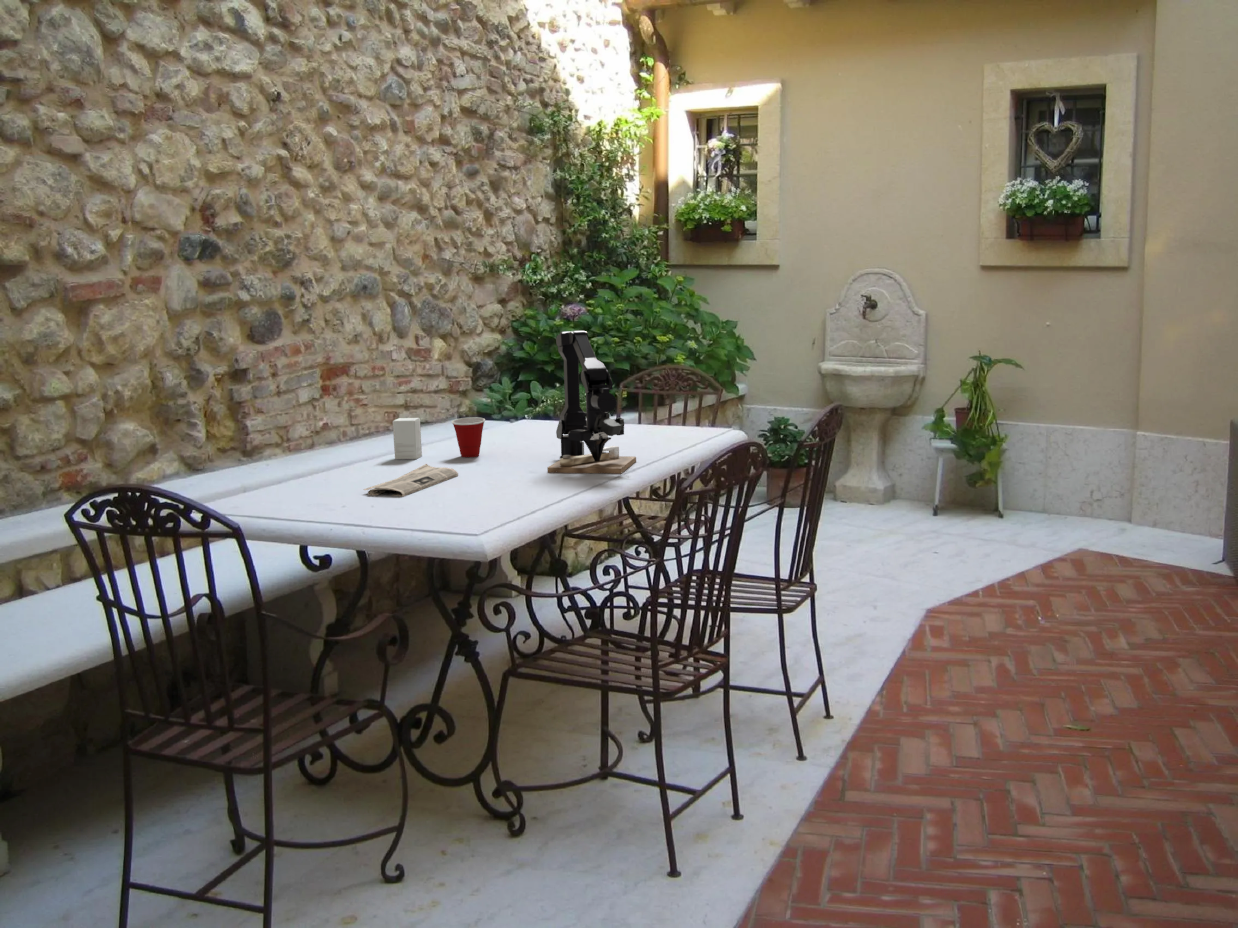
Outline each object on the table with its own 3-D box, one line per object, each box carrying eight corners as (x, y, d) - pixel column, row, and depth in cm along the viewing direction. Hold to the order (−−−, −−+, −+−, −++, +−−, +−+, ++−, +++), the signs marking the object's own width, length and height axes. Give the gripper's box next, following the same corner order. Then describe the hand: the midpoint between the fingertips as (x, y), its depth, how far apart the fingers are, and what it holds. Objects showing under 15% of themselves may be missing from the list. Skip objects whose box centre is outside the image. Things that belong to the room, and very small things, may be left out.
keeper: (601, 460, 356) (601, 449, 355) (596, 459, 357) (596, 448, 357) (619, 457, 361) (618, 446, 360) (613, 456, 363) (613, 445, 362)
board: (547, 472, 345) (547, 467, 345) (566, 460, 367) (566, 455, 367) (621, 473, 340) (621, 468, 340) (636, 461, 363) (636, 456, 362)
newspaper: (402, 498, 310) (402, 485, 310) (360, 497, 314) (360, 483, 313) (460, 476, 343) (459, 464, 343) (421, 475, 347) (421, 463, 347)
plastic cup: (447, 458, 377) (445, 421, 375) (461, 453, 387) (459, 417, 385) (478, 459, 374) (477, 421, 372) (491, 454, 384) (490, 417, 382)
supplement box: (422, 456, 383) (420, 417, 381) (416, 459, 375) (414, 420, 373) (400, 456, 383) (398, 417, 381) (394, 459, 376) (392, 420, 374)
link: (566, 466, 344) (566, 456, 344) (557, 464, 347) (557, 455, 346) (610, 458, 357) (610, 449, 356) (601, 457, 359) (601, 448, 359)
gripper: (594, 413, 335) (595, 467, 337) (637, 407, 349) (638, 459, 351) (566, 411, 342) (567, 464, 345) (609, 405, 356) (610, 456, 358)
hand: (597, 461), depth 349 cm, fingers closed
